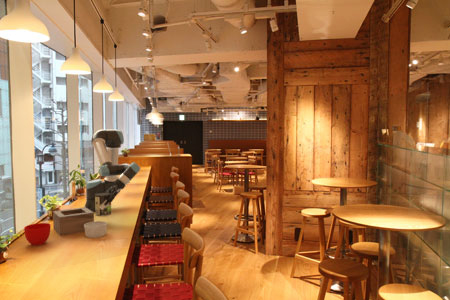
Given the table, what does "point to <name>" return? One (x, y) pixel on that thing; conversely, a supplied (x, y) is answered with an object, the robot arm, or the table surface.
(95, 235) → the ramekin
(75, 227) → the brown square bin
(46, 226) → the ceramic cup
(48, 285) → the table surface
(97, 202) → the coffee can
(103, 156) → the robot arm
